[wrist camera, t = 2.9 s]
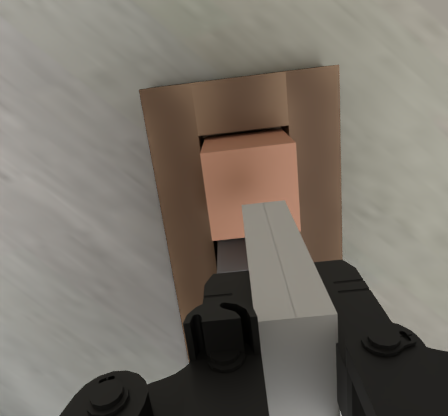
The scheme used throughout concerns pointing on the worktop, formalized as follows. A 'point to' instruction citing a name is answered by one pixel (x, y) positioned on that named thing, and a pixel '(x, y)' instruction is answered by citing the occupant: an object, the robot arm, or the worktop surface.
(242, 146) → the salmon orange cube
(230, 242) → the slate key
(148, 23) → the worktop surface
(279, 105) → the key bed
